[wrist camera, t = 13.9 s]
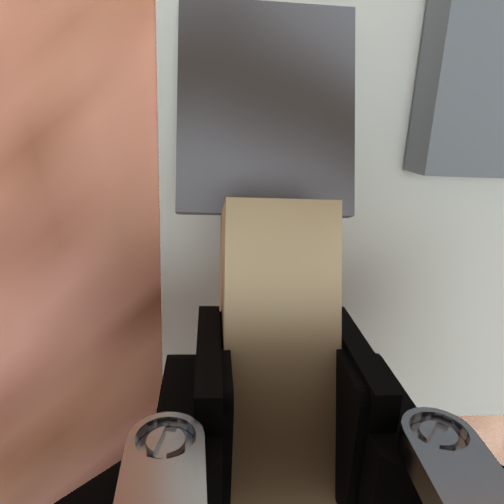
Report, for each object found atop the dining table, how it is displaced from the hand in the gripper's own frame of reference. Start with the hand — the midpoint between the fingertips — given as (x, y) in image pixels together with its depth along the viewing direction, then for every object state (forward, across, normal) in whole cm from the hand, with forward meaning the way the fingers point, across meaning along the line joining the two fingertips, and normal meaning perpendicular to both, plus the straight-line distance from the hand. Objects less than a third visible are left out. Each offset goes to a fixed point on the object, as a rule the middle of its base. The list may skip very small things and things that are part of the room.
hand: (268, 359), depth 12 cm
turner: (+2, 0, -1) cm, 2 cm away
